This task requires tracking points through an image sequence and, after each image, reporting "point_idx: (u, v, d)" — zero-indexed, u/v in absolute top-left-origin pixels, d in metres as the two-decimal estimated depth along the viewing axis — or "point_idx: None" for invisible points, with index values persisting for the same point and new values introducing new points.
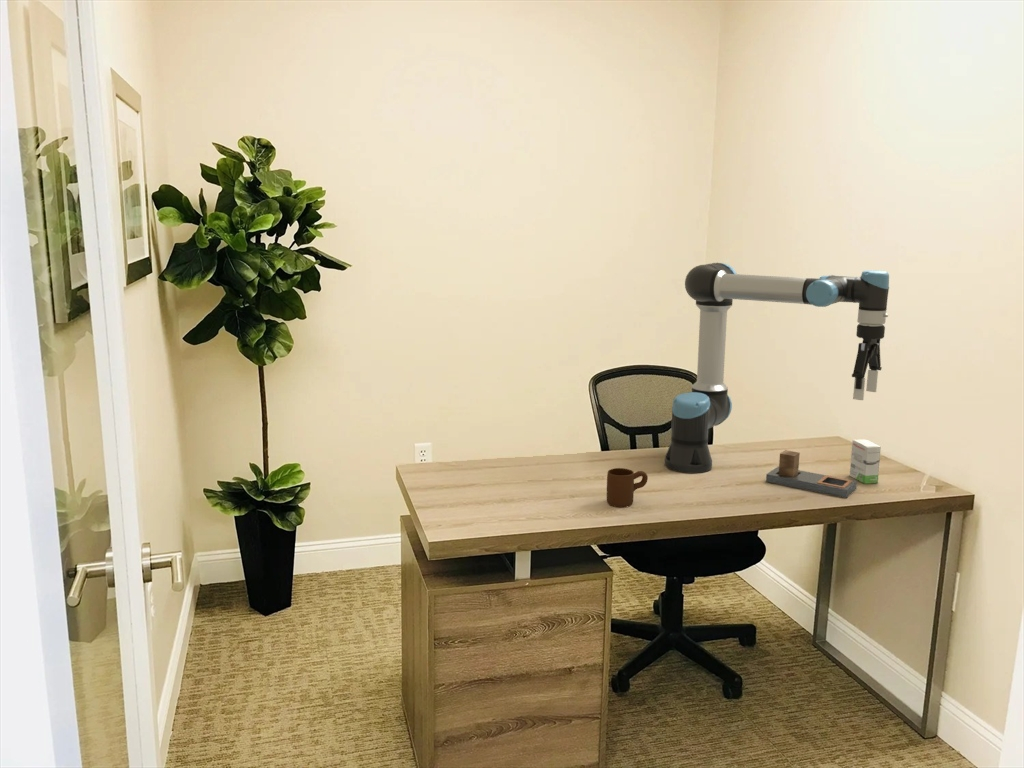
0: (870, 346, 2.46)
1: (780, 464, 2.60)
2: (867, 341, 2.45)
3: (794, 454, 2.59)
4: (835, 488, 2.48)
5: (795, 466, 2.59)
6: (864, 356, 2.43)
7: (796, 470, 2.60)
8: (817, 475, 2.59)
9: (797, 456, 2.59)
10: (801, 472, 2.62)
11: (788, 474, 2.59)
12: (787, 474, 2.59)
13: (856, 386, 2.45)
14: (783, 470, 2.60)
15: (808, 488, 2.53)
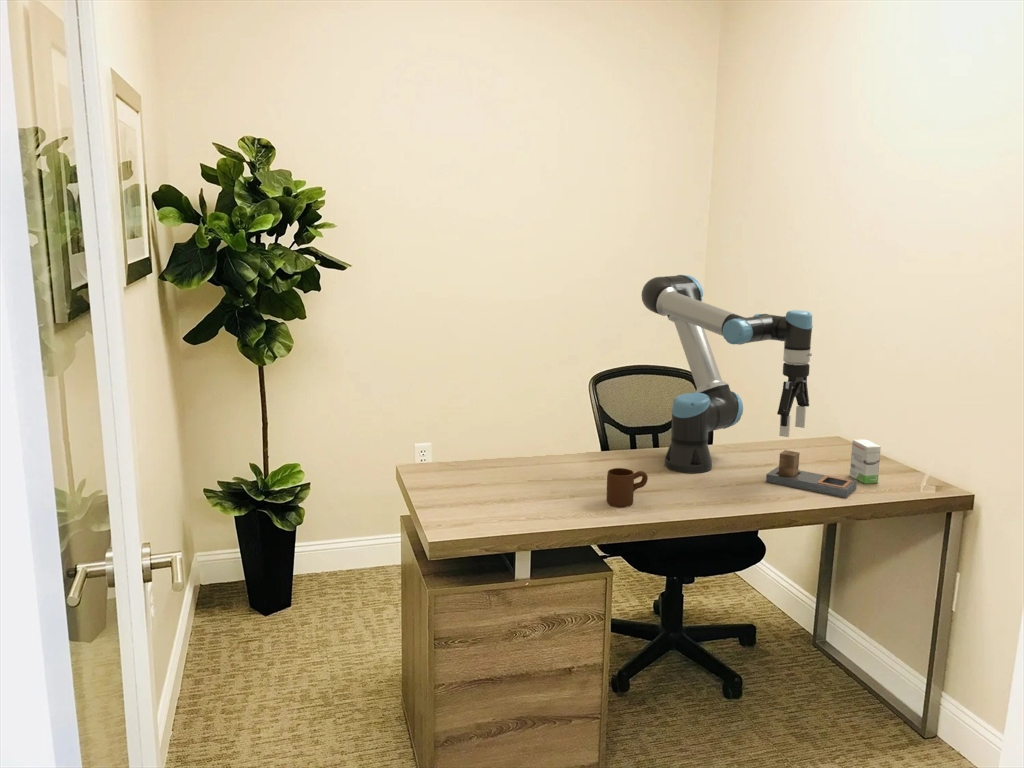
0: (795, 384, 2.53)
1: (780, 464, 2.60)
2: (792, 379, 2.52)
3: (794, 454, 2.59)
4: (835, 488, 2.48)
5: (795, 466, 2.59)
6: (788, 394, 2.49)
7: (796, 470, 2.60)
8: (817, 475, 2.59)
9: (797, 456, 2.59)
10: (801, 472, 2.62)
11: (788, 474, 2.59)
12: (787, 474, 2.59)
13: (781, 423, 2.51)
14: (783, 470, 2.60)
15: (808, 488, 2.53)
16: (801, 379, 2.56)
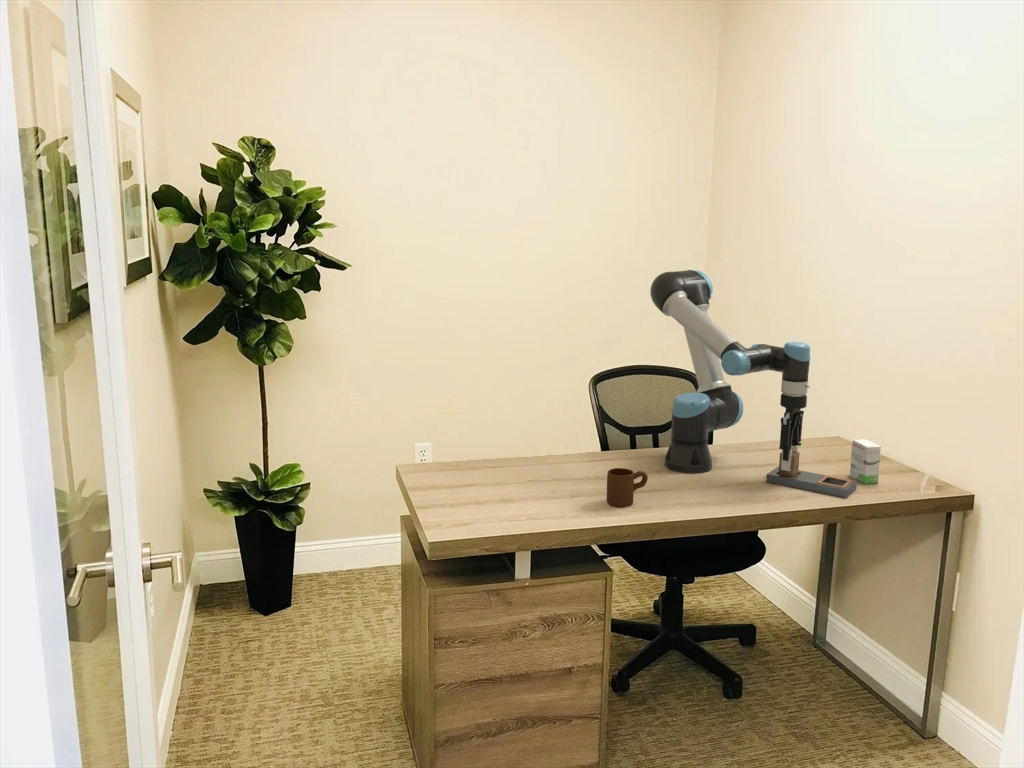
0: (793, 415, 2.55)
1: (780, 464, 2.60)
2: (789, 411, 2.54)
3: (794, 454, 2.59)
4: (835, 488, 2.48)
5: (795, 466, 2.59)
6: (787, 431, 2.53)
7: (796, 470, 2.60)
8: (817, 475, 2.59)
9: (797, 456, 2.59)
10: (801, 472, 2.62)
11: (788, 474, 2.59)
12: (787, 474, 2.59)
13: (783, 458, 2.57)
14: None
15: (808, 488, 2.53)
16: (799, 408, 2.59)
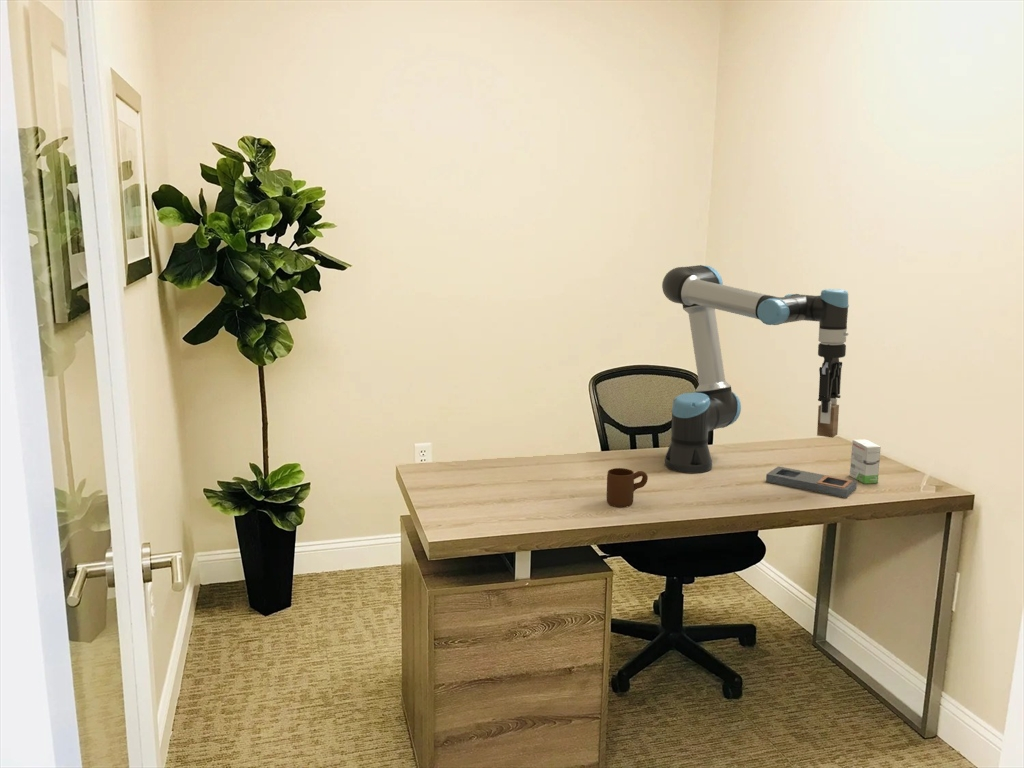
0: (831, 364, 2.45)
1: (819, 417, 2.50)
2: (828, 360, 2.45)
3: (833, 406, 2.49)
4: (835, 488, 2.48)
5: (835, 418, 2.49)
6: (826, 380, 2.44)
7: (836, 423, 2.50)
8: (817, 475, 2.59)
9: (836, 408, 2.49)
10: (801, 472, 2.62)
11: (828, 427, 2.49)
12: (827, 427, 2.49)
13: (822, 410, 2.47)
14: (822, 423, 2.50)
15: (808, 488, 2.53)
16: (837, 359, 2.49)
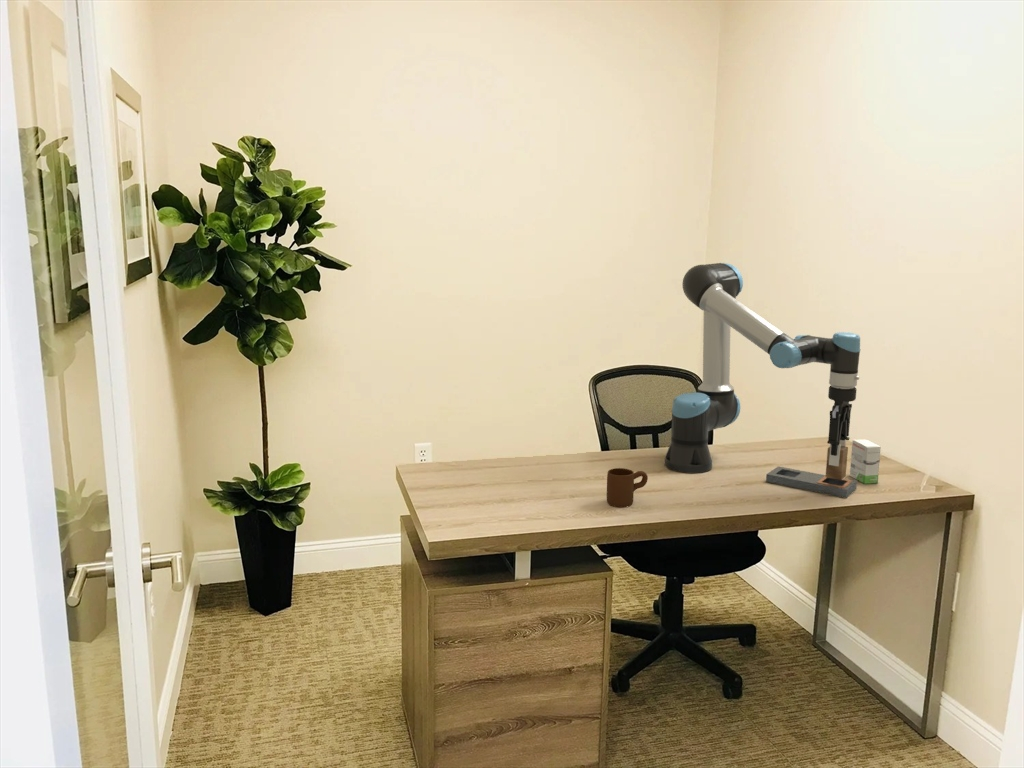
0: (842, 408, 2.46)
1: (828, 459, 2.51)
2: (838, 403, 2.45)
3: (843, 448, 2.49)
4: (835, 488, 2.48)
5: (844, 461, 2.50)
6: (836, 424, 2.44)
7: (844, 465, 2.51)
8: (817, 475, 2.59)
9: (846, 451, 2.50)
10: (801, 472, 2.62)
11: (836, 469, 2.50)
12: (836, 469, 2.50)
13: (831, 452, 2.48)
14: (831, 465, 2.51)
15: (808, 488, 2.53)
16: (847, 401, 2.49)
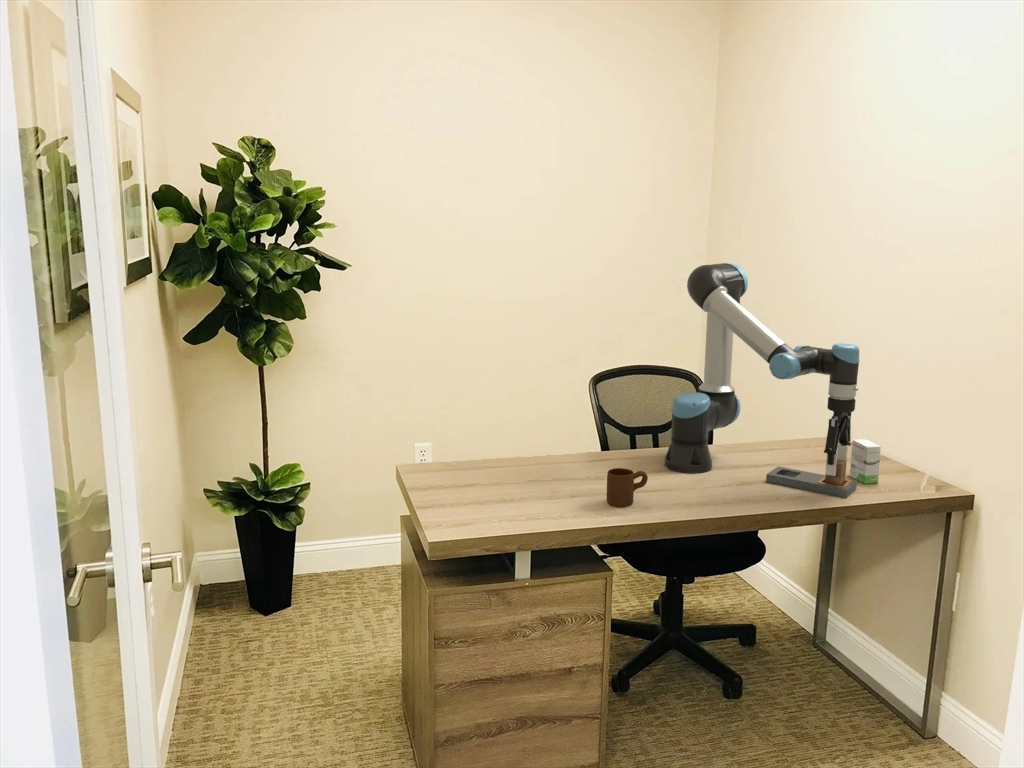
0: (841, 419, 2.46)
1: None
2: (837, 414, 2.46)
3: (841, 462, 2.50)
4: (835, 488, 2.48)
5: (842, 475, 2.51)
6: (835, 433, 2.44)
7: (843, 479, 2.52)
8: (817, 475, 2.59)
9: (844, 464, 2.51)
10: (801, 472, 2.62)
11: (835, 483, 2.51)
12: (834, 483, 2.51)
13: (828, 462, 2.47)
14: (830, 478, 2.52)
15: (808, 488, 2.53)
16: (846, 413, 2.50)
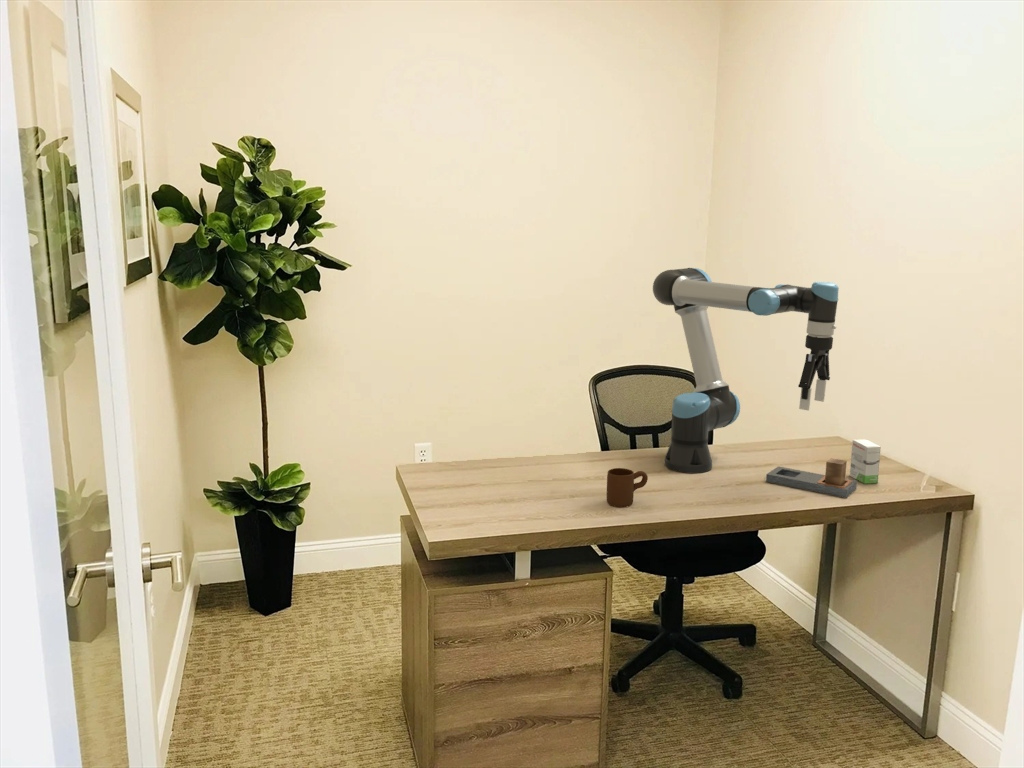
0: (818, 357, 2.49)
1: (826, 473, 2.52)
2: (815, 352, 2.48)
3: (841, 462, 2.50)
4: (835, 488, 2.48)
5: (842, 475, 2.51)
6: (811, 367, 2.46)
7: (843, 479, 2.52)
8: (817, 475, 2.59)
9: (844, 464, 2.51)
10: (801, 472, 2.62)
11: (835, 483, 2.51)
12: (834, 483, 2.51)
13: (802, 396, 2.48)
14: (830, 478, 2.52)
15: (808, 488, 2.53)
16: (823, 352, 2.52)
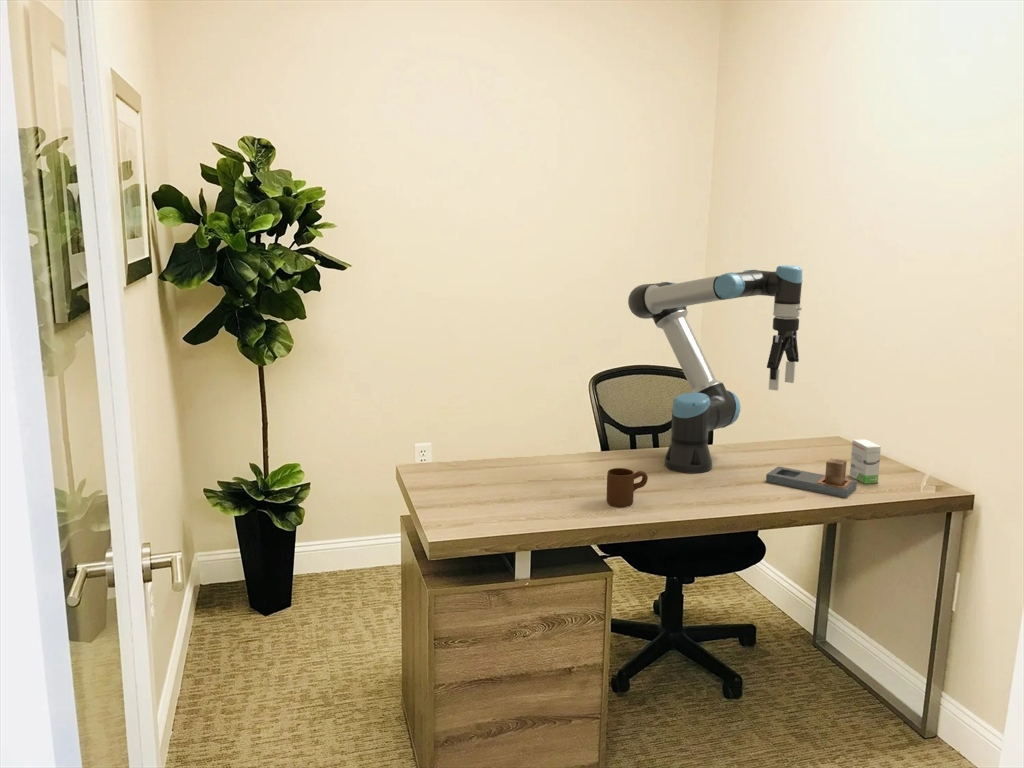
0: (785, 338, 2.55)
1: (826, 473, 2.52)
2: (781, 333, 2.55)
3: (841, 462, 2.50)
4: (835, 488, 2.48)
5: (842, 475, 2.51)
6: (778, 348, 2.52)
7: (843, 479, 2.52)
8: (817, 475, 2.59)
9: (844, 464, 2.51)
10: (801, 472, 2.62)
11: (835, 483, 2.51)
12: (834, 483, 2.51)
13: (771, 377, 2.54)
14: (830, 478, 2.52)
15: (808, 488, 2.53)
16: (791, 334, 2.59)
